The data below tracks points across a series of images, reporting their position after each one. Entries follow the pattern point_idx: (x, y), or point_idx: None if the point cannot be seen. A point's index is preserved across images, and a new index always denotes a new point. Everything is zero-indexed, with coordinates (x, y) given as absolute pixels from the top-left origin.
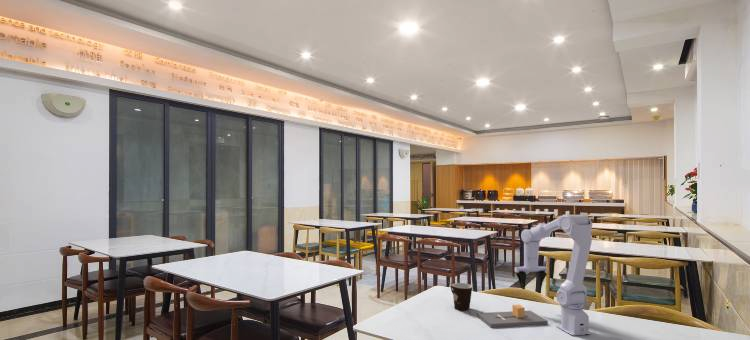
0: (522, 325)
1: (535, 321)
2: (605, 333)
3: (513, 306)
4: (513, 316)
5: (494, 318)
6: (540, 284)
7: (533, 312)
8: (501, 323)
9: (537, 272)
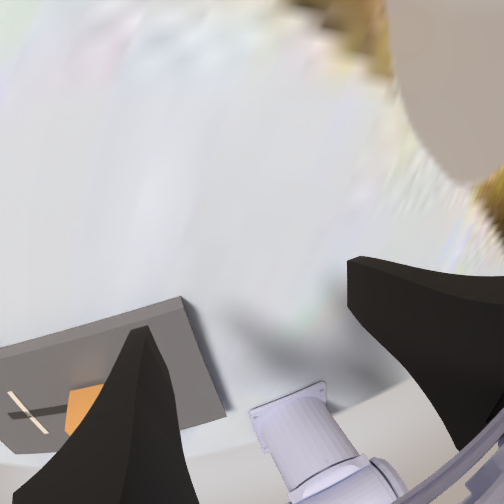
0: None
1: None
2: (368, 399)
3: (71, 431)
4: None
5: (9, 422)
6: (379, 341)
7: (193, 337)
8: (43, 452)
9: (500, 367)
